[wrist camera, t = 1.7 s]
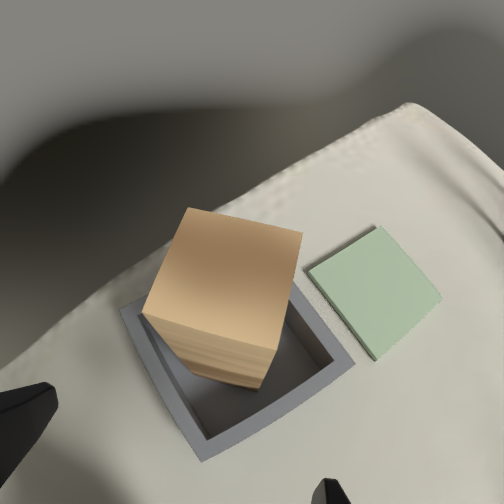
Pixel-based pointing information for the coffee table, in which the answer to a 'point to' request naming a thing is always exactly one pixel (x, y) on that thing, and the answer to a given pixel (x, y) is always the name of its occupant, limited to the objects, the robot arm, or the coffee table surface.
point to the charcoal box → (233, 398)
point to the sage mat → (376, 290)
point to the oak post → (224, 295)
